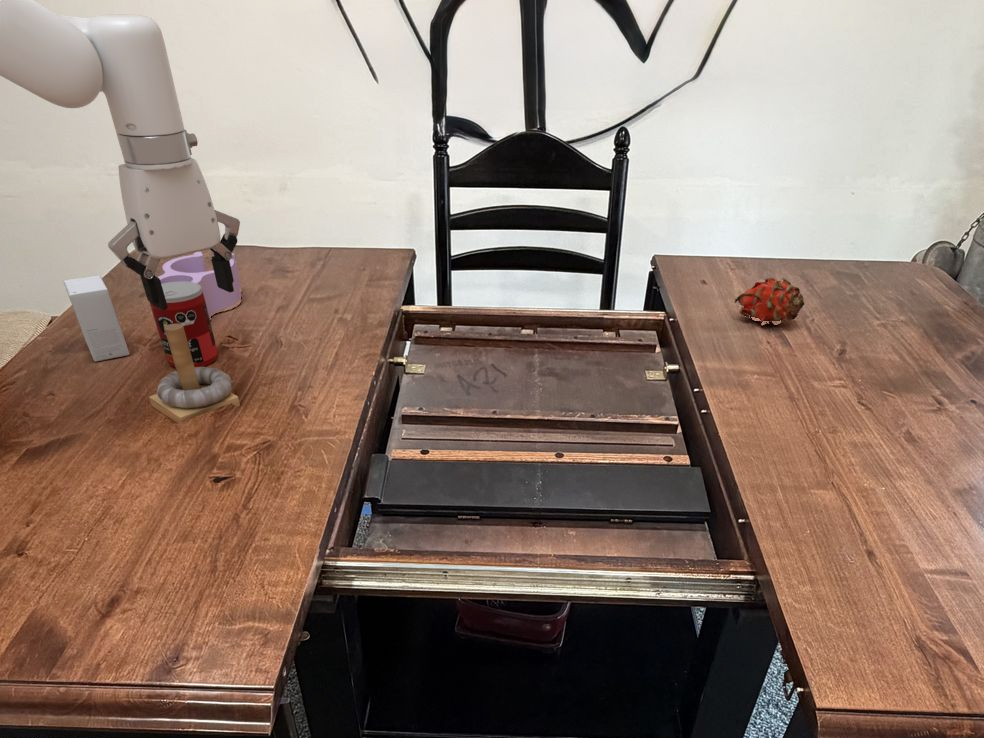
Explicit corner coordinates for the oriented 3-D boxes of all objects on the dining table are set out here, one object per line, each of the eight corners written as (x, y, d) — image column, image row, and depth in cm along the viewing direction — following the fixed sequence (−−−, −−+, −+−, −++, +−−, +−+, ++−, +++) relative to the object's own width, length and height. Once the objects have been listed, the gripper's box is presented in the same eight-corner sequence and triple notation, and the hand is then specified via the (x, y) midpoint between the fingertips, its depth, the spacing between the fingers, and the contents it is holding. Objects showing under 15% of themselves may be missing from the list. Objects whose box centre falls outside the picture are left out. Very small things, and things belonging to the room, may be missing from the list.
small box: (130, 356, 115) (108, 289, 108) (93, 362, 113) (68, 294, 106) (122, 339, 120) (100, 274, 113) (86, 345, 118) (62, 279, 111)
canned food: (157, 366, 113) (135, 294, 105) (188, 347, 118) (169, 278, 111) (199, 373, 111) (180, 301, 104) (228, 353, 117) (211, 284, 109)
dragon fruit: (799, 338, 129) (731, 338, 134) (805, 297, 131) (737, 299, 135) (804, 309, 122) (731, 310, 126) (810, 266, 123) (738, 268, 127)
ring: (181, 418, 97) (176, 401, 95) (147, 394, 102) (142, 378, 100) (246, 395, 102) (242, 379, 101) (211, 374, 107) (207, 358, 106)
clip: (212, 330, 124) (201, 289, 119) (144, 326, 125) (131, 285, 120) (254, 291, 139) (246, 254, 134) (193, 288, 140) (184, 250, 135)
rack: (183, 427, 98) (158, 345, 90) (151, 406, 103) (125, 326, 95) (240, 406, 103) (221, 326, 95) (208, 386, 107) (187, 309, 100)
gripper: (205, 137, 91) (235, 277, 102) (68, 154, 81) (118, 307, 92) (237, 145, 87) (265, 290, 98) (97, 164, 77) (146, 322, 89)
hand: (194, 298), depth 95 cm, fingers open, 9 cm apart
